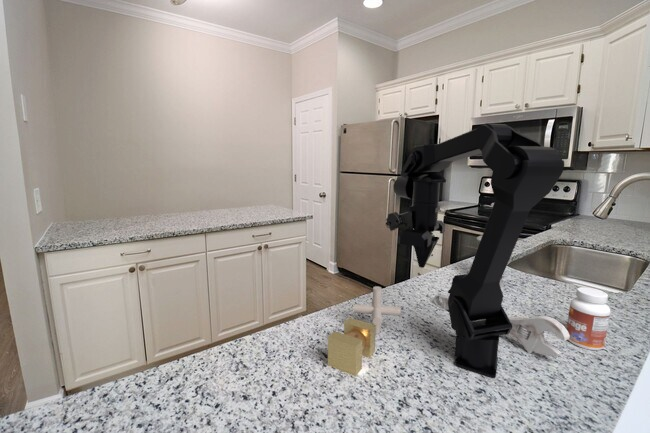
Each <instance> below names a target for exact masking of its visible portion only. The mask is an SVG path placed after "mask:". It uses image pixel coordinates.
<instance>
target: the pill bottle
mask: <svg viewBox="0 0 650 433" xmlns="http://www.w3.org/2000/svg"><path fill="white" fill-rule="evenodd" d="M575 293H576V297H574V298H572V299H571V300H570V303H569V309H568V317H567V323H566V327H565V328H566V329H567V331H568V333H569V335H570V338H569V339H568V340H567V341H569V343H572V344H573V345H575V346H577V347H580V348H582V349H584V350H585V349H586V350H588V351H600V350H603V349H604V348H605V345H606V340H607V333H608V328H609V325H610V324H609V323H610V318H611V309H610V308H611V307H609V305H608V304H607V302H608V299H609V298H608V297H609V295H608V294H607V293H606V292H605V291H602V290H600V289H596V288H593V287H585V286H581V287H577V289H576V292H575Z"/></svg>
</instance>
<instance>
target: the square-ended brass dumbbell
mask: <svg viewBox="0 0 650 433" xmlns="http://www.w3.org/2000/svg"><path fill="white" fill-rule="evenodd" d="M375 333H376V325H373V324H372V323H369V322H366V321H362V320H359V319H356V318H353V317H349V318H348V319H347V320H345V321H344V323H343V333H342V332H339V331H336V330H334V331H333V332H332V333H331V334H330V335H328V336H327V366H328V367H331V368H334V369H336V370H338V371H341V372H343V373H346V374H349V375H351V376H353V377H357V376H358V375H359V373H360V372H361V370H363V368H362V367H363V366H362V365H363V357H366V358H368V359H370V358H371V357H372V356H373V355H374V354H375V352H376V334H375Z"/></svg>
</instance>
